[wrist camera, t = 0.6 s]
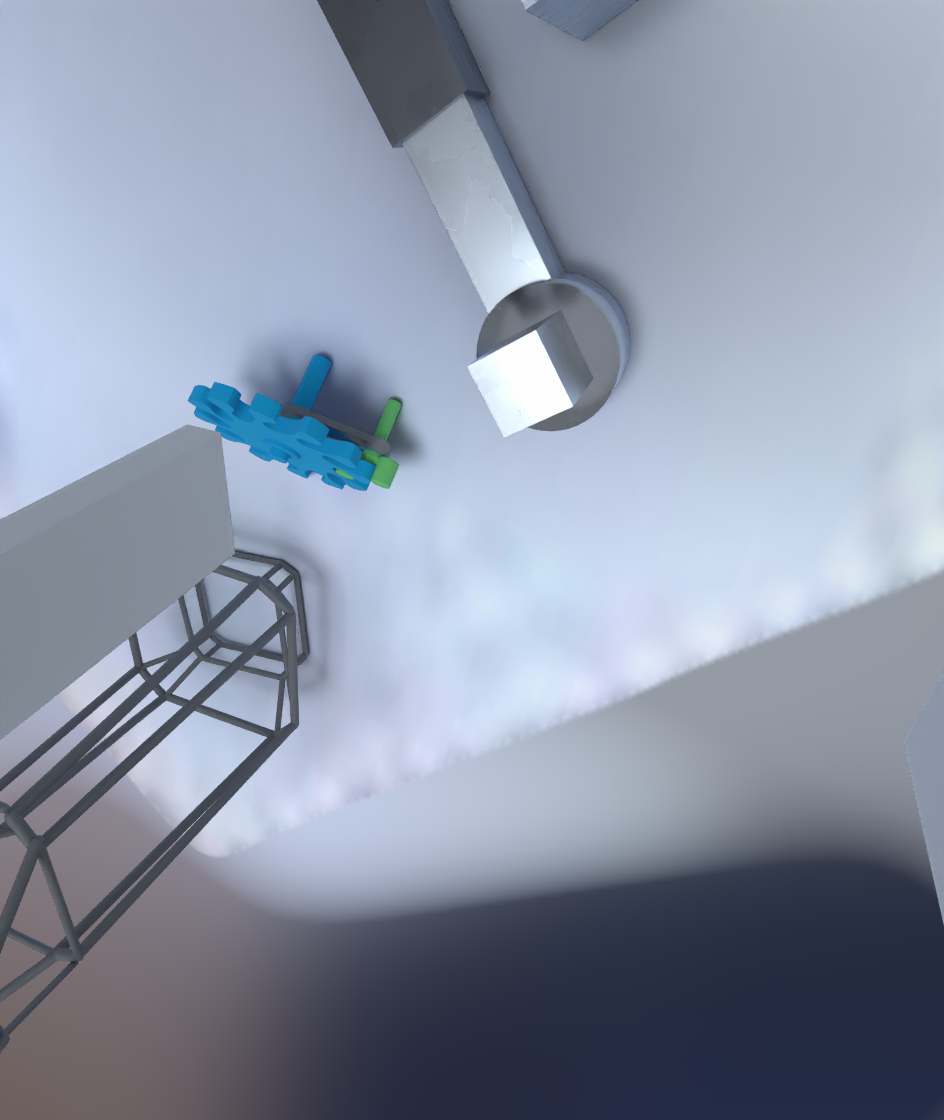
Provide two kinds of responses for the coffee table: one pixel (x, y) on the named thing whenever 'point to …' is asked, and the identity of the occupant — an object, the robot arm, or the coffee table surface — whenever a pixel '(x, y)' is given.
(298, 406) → the gear
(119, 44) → the coffee table surface
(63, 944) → the geometric lantern
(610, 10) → the grey rectangular block
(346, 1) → the ratchet
